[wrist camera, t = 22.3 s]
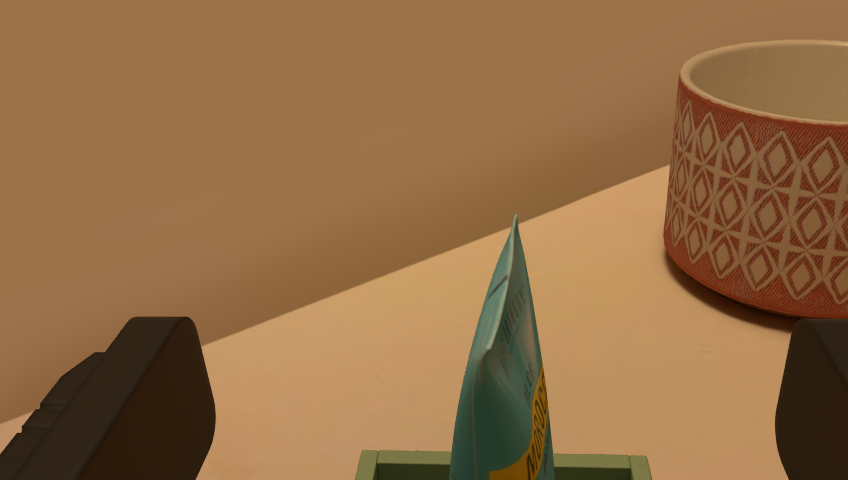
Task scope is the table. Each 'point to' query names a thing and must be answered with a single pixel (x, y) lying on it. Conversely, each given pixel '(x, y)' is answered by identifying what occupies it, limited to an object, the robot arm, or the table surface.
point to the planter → (764, 176)
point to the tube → (504, 384)
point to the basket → (429, 470)
